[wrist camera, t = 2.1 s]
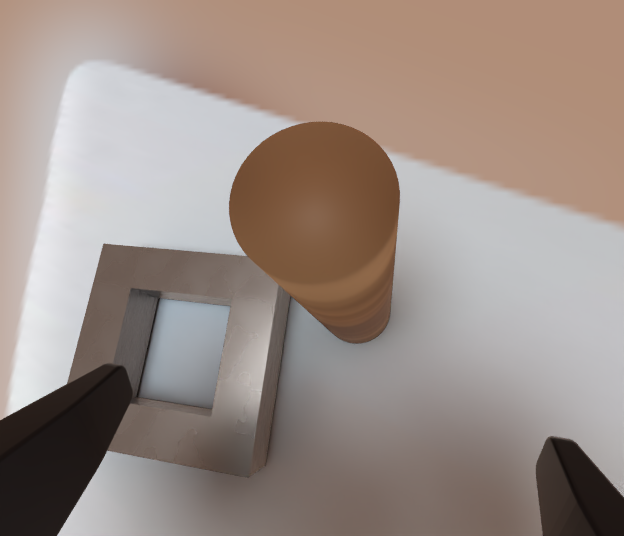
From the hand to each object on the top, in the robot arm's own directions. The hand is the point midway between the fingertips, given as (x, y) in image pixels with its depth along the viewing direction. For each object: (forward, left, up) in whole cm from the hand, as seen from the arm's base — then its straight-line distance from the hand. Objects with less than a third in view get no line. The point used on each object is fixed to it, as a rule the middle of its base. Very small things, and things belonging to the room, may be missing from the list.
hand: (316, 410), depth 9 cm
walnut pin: (+4, 0, -11) cm, 12 cm away
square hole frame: (+1, +8, -11) cm, 14 cm away
